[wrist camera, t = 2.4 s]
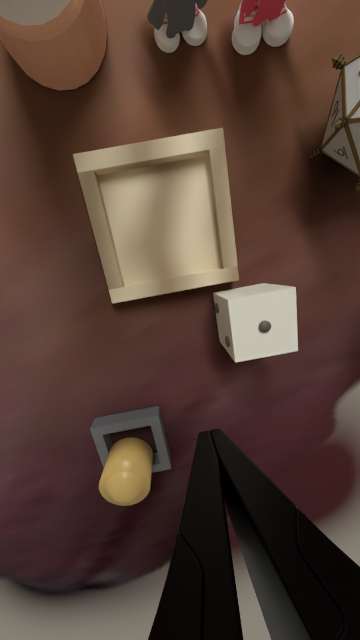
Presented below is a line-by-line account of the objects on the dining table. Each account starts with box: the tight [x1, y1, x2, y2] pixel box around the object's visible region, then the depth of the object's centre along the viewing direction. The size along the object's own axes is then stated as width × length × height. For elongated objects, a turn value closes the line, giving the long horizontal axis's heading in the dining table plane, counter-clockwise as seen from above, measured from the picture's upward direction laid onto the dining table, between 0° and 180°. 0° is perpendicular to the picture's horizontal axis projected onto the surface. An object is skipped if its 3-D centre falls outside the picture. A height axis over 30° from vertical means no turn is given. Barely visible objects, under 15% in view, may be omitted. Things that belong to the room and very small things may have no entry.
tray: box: [73, 128, 239, 304], centre depth 17 cm, size 11×11×2 cm
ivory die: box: [213, 283, 298, 363], centre depth 17 cm, size 5×5×5 cm
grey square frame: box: [90, 406, 171, 473], centre depth 22 cm, size 7×7×2 cm
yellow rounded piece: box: [99, 438, 153, 506], centre depth 18 cm, size 4×4×4 cm
